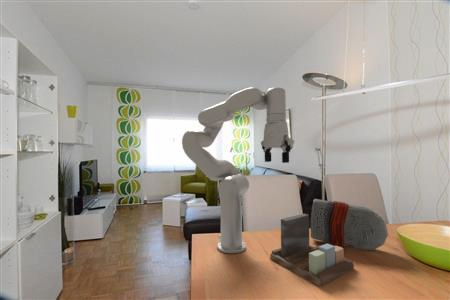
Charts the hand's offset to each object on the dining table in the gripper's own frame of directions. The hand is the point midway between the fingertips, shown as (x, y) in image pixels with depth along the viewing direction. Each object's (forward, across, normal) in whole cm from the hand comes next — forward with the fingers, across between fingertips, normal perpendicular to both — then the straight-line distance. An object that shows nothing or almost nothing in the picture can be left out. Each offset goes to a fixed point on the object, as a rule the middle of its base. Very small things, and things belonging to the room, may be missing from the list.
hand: (276, 162), depth 91 cm
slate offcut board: (+38, +17, +7) cm, 43 cm away
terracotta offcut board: (+38, +17, +12) cm, 44 cm away
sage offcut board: (+38, +17, +2) cm, 42 cm away
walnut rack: (+38, +10, +7) cm, 40 cm away
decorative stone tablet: (+38, +9, +34) cm, 52 cm away
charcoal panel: (+38, +3, +7) cm, 39 cm away
